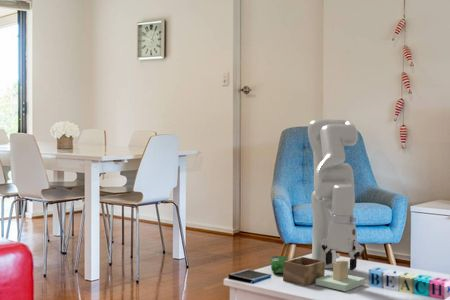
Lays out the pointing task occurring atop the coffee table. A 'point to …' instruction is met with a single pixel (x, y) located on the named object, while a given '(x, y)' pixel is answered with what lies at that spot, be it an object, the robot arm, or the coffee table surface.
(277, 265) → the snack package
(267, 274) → the coffee table surface
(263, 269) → the coffee table surface
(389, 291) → the coffee table surface
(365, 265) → the coffee table surface
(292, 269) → the box
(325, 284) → the lid
